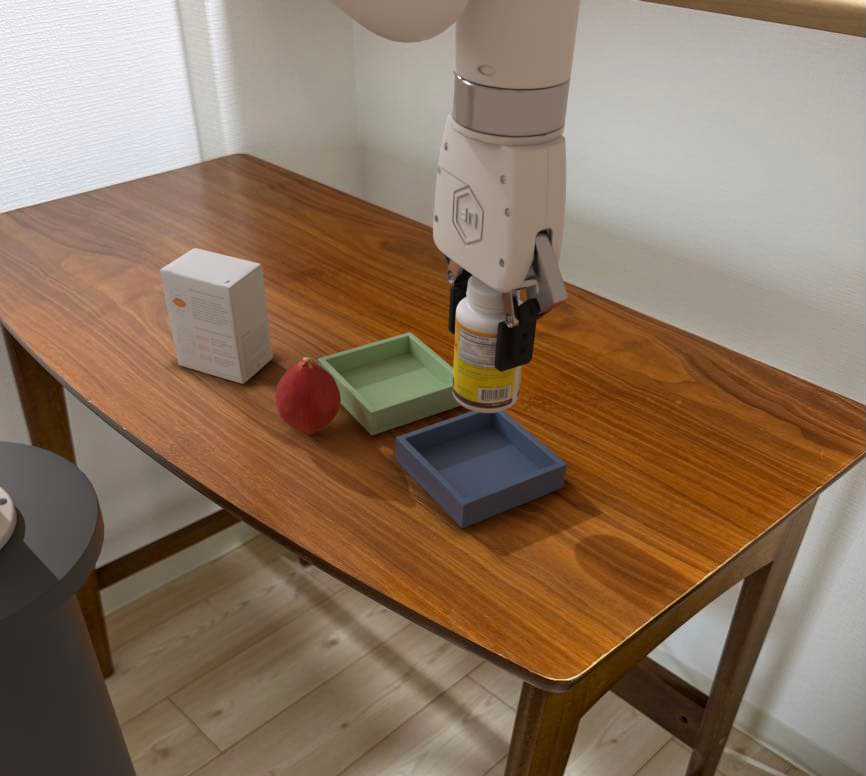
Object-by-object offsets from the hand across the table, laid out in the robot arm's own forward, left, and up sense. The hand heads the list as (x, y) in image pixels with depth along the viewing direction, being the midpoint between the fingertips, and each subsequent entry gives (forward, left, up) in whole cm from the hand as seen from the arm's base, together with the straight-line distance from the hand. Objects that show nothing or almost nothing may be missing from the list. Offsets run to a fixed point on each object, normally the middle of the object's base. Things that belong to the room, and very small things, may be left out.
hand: (489, 344), depth 71 cm
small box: (-12, +28, -13) cm, 33 cm away
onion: (-10, +13, -13) cm, 21 cm away
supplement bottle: (0, 0, -5) cm, 5 cm away
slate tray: (0, 0, -13) cm, 13 cm away
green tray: (0, +15, -13) cm, 20 cm away
